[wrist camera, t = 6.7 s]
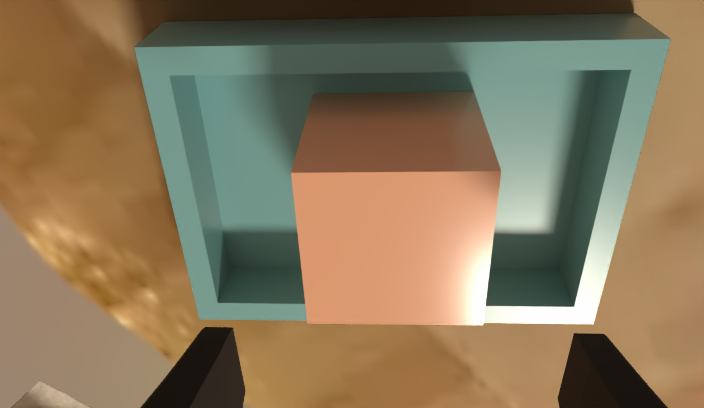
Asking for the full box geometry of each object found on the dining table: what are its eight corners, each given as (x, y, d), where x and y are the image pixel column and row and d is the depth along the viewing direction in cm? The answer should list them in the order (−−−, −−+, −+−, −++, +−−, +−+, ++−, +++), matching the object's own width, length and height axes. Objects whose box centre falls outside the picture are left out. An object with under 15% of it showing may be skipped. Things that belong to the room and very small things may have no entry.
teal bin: (634, 13, 17) (671, 38, 15) (573, 277, 22) (593, 323, 20) (164, 21, 17) (134, 47, 15) (216, 274, 23) (199, 319, 21)
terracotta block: (473, 90, 18) (501, 171, 13) (462, 223, 20) (482, 325, 16) (313, 93, 18) (291, 172, 14) (323, 224, 21) (307, 323, 16)
